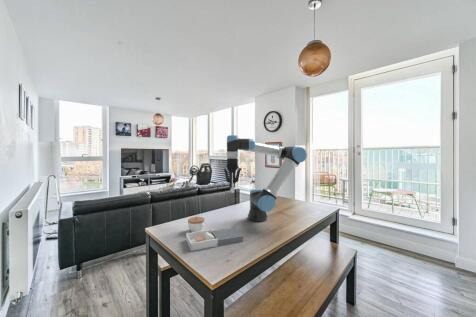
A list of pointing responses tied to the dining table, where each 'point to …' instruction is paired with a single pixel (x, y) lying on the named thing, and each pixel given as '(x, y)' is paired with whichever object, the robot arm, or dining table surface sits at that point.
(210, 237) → the tile
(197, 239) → the tile
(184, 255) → the dining table surface
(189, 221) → the lidded jar
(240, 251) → the dining table surface
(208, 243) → the tray
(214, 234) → the board
